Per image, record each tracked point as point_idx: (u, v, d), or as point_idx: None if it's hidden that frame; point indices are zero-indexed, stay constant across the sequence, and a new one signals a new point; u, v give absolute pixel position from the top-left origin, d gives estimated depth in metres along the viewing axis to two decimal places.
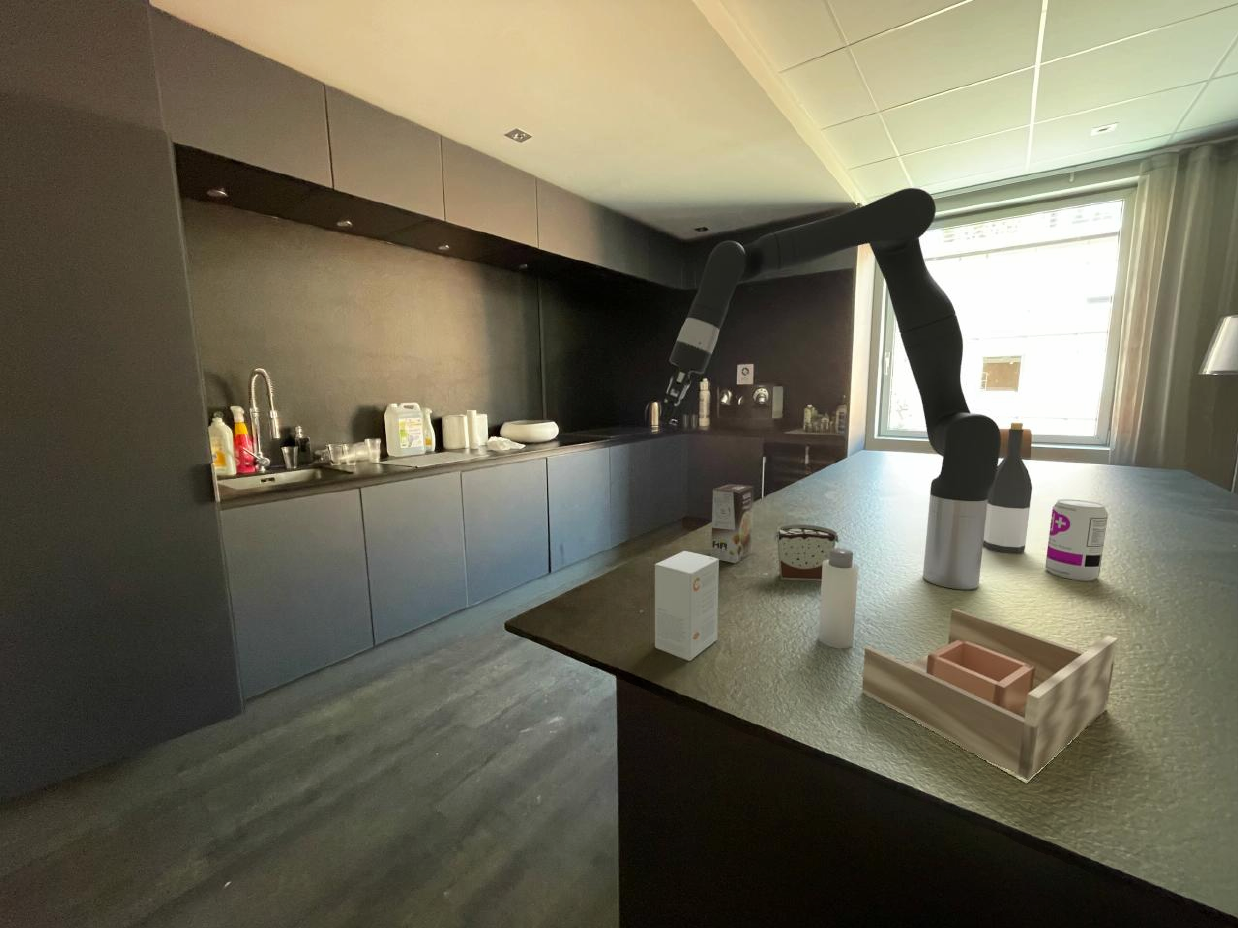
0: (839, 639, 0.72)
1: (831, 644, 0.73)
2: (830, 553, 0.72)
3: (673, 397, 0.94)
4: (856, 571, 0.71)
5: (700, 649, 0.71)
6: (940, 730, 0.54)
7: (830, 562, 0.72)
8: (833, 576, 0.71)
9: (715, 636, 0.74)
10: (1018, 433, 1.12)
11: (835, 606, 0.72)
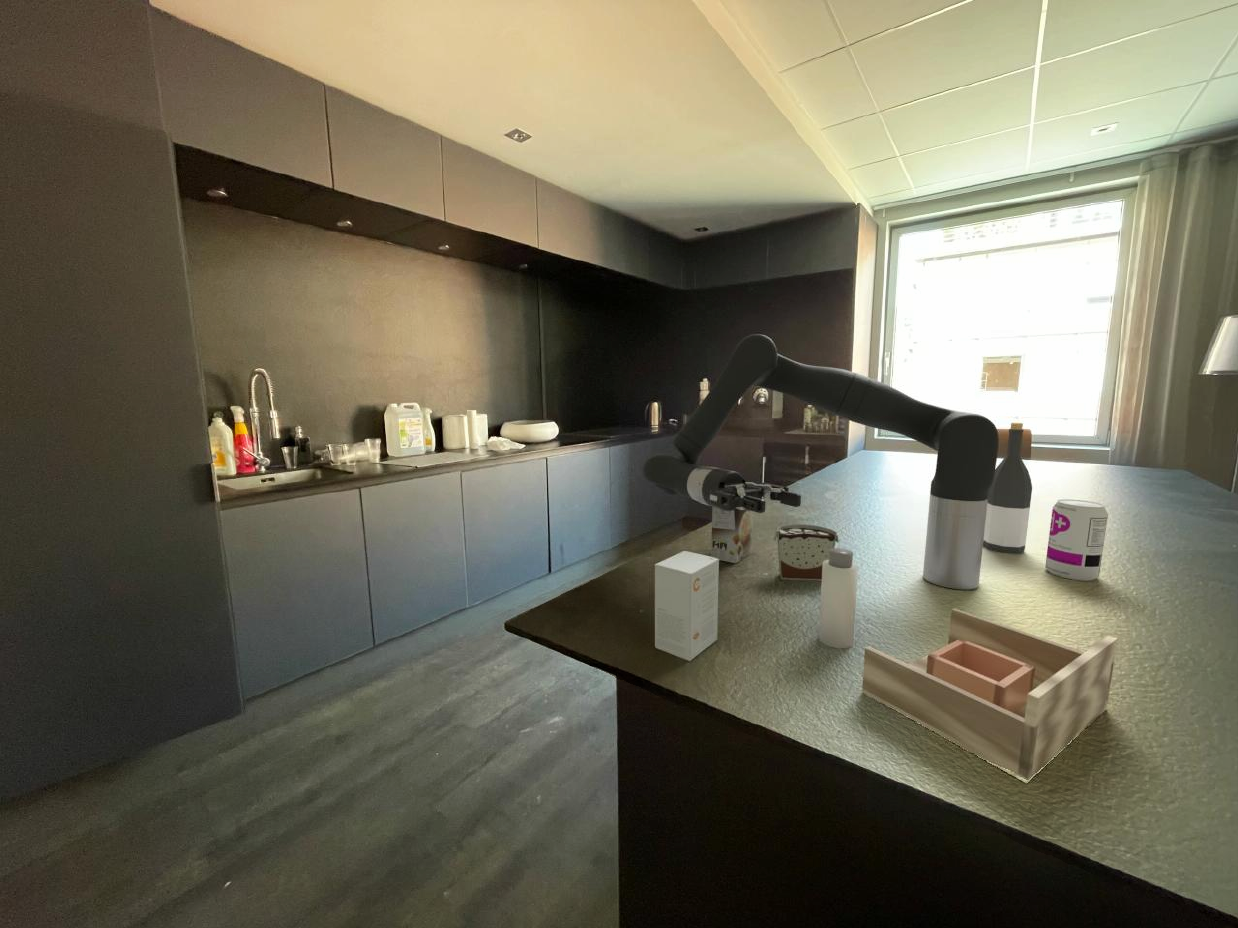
0: (839, 639, 0.72)
1: (831, 644, 0.73)
2: (830, 553, 0.72)
3: (727, 501, 0.82)
4: (856, 571, 0.71)
5: (700, 649, 0.71)
6: (940, 730, 0.54)
7: (830, 562, 0.72)
8: (833, 576, 0.71)
9: (715, 636, 0.74)
10: (1018, 433, 1.12)
11: (835, 606, 0.72)
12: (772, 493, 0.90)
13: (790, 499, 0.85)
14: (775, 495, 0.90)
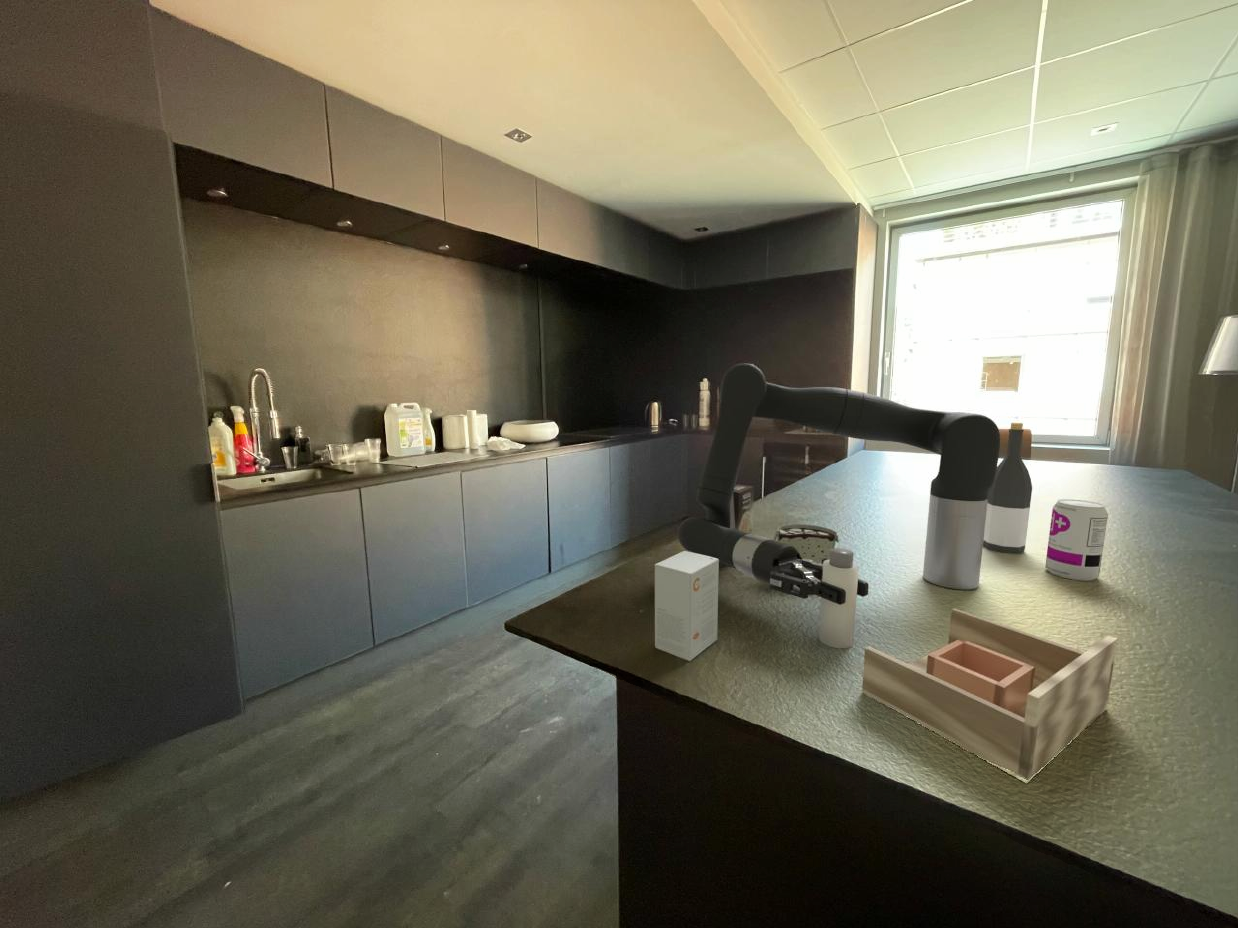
0: (840, 639, 0.72)
1: (831, 644, 0.73)
2: (831, 553, 0.72)
3: (800, 588, 0.73)
4: (857, 571, 0.71)
5: (700, 649, 0.71)
6: (940, 730, 0.54)
7: (831, 562, 0.72)
8: (834, 576, 0.71)
9: (715, 636, 0.74)
10: (1018, 433, 1.12)
11: (835, 606, 0.72)
12: None
13: None
14: None
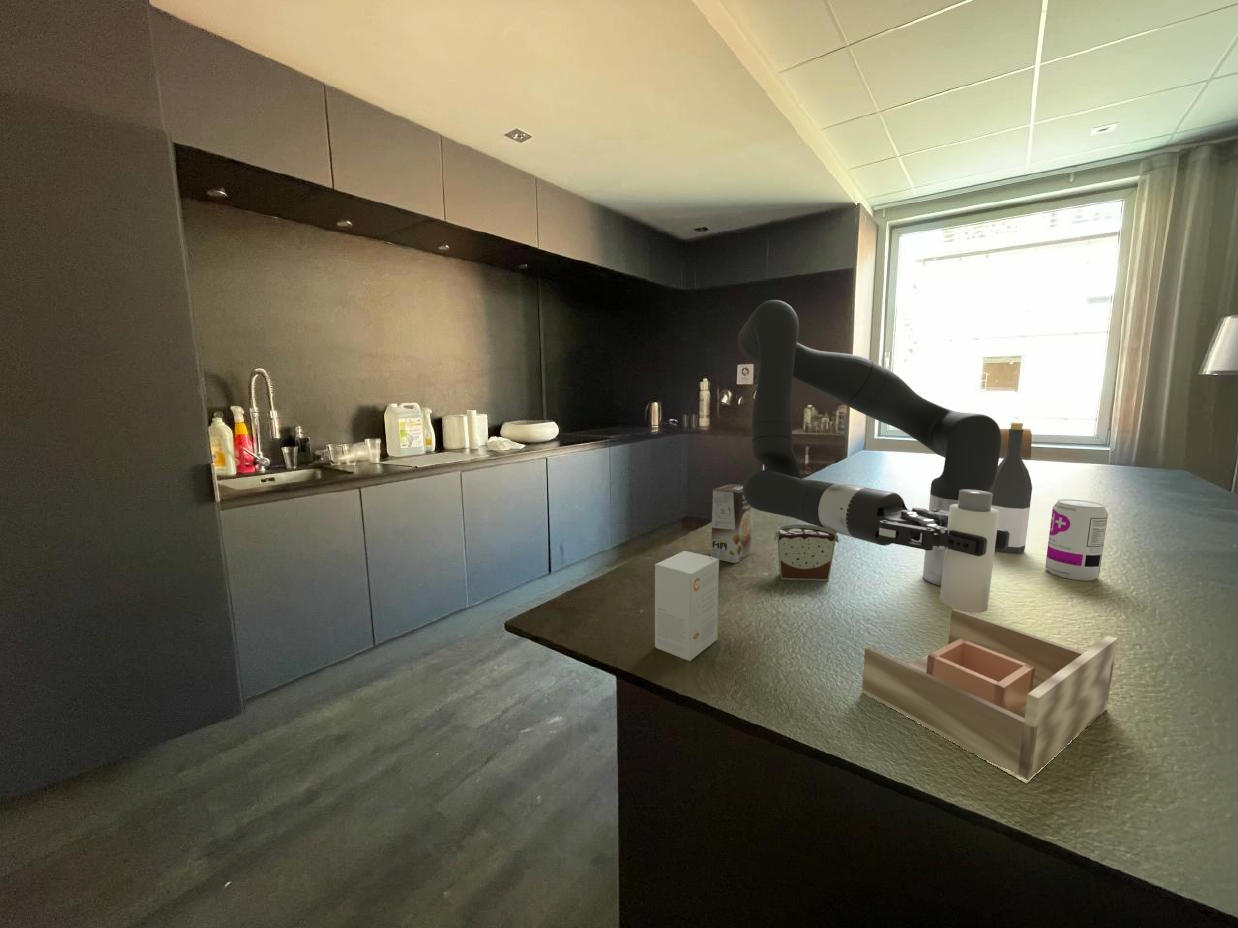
0: (974, 601, 0.58)
1: (962, 607, 0.58)
2: (962, 494, 0.58)
3: (922, 537, 0.59)
4: (998, 515, 0.57)
5: (700, 649, 0.71)
6: (940, 730, 0.54)
7: (962, 505, 0.58)
8: (969, 521, 0.57)
9: (715, 636, 0.74)
10: (1018, 433, 1.12)
11: (969, 559, 0.57)
12: None
13: None
14: None
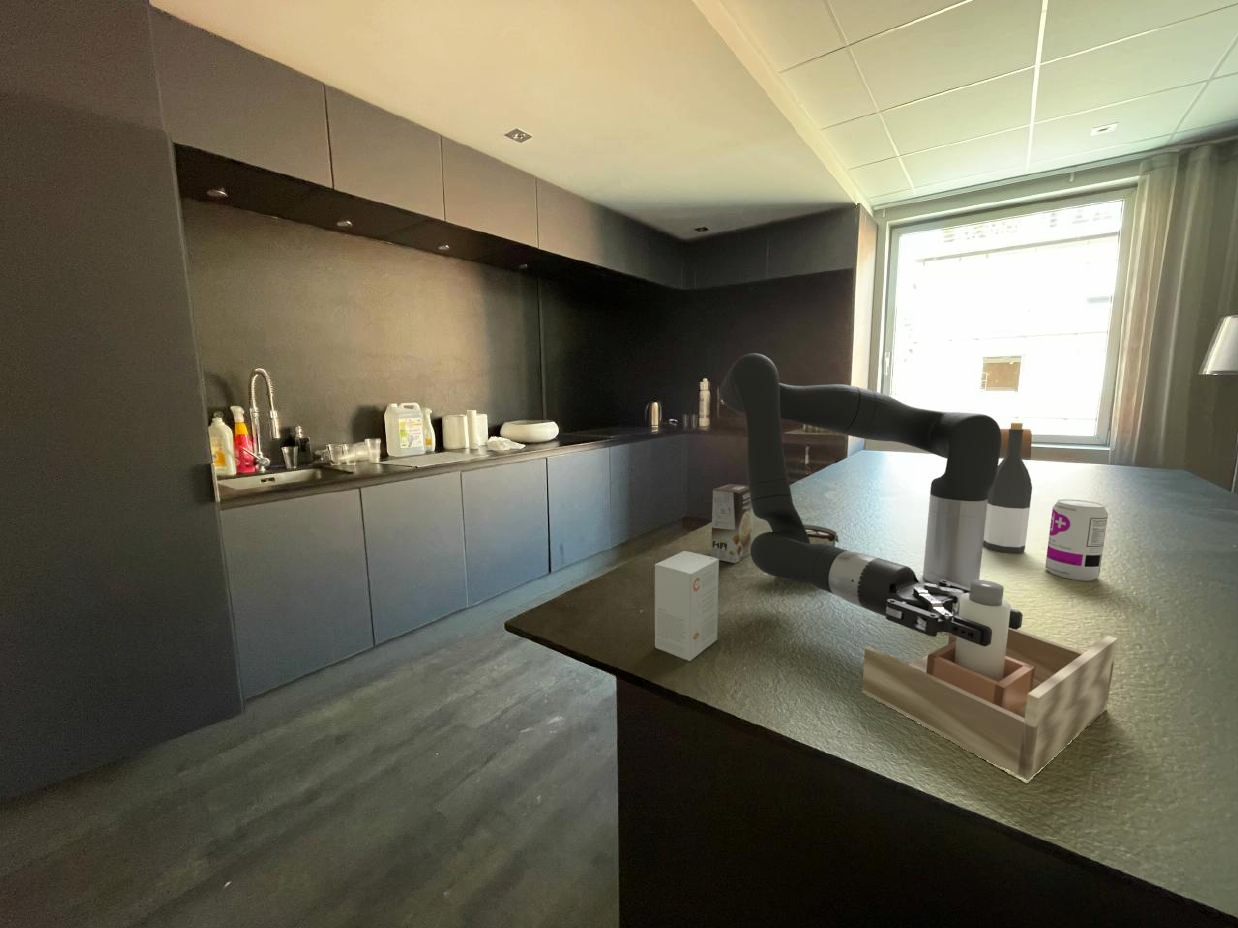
0: None
1: None
2: (973, 587, 0.58)
3: (927, 623, 0.58)
4: (1009, 610, 0.57)
5: (700, 649, 0.71)
6: (940, 730, 0.54)
7: (973, 598, 0.58)
8: (981, 616, 0.57)
9: (715, 636, 0.74)
10: (1018, 433, 1.12)
11: (982, 653, 0.57)
12: None
13: None
14: None
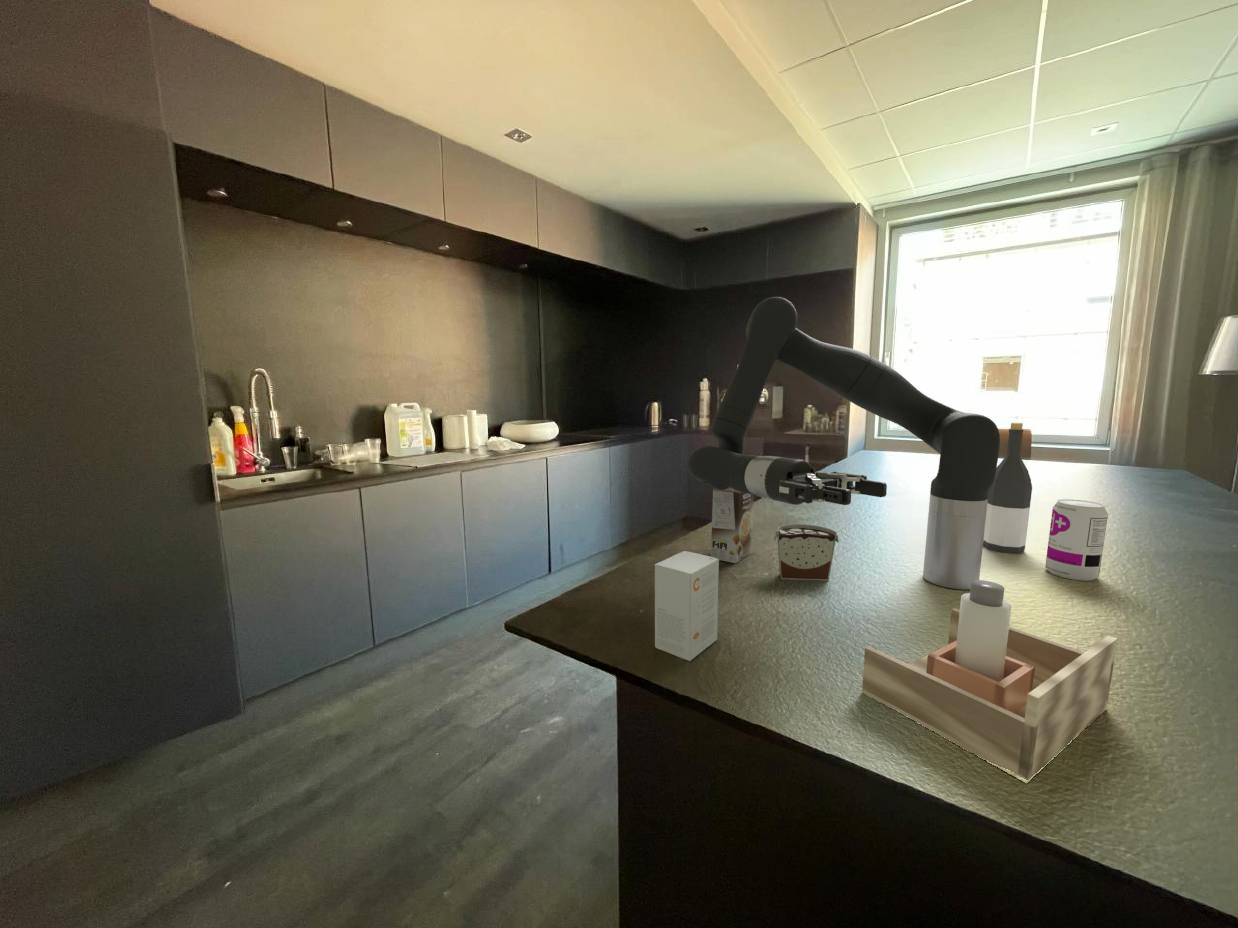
0: None
1: None
2: (974, 587, 0.58)
3: (804, 493, 0.71)
4: (1010, 610, 0.57)
5: (700, 649, 0.71)
6: (940, 730, 0.54)
7: (974, 598, 0.58)
8: (981, 617, 0.57)
9: (715, 636, 0.74)
10: (1018, 433, 1.12)
11: (982, 654, 0.57)
12: (846, 483, 0.79)
13: (873, 489, 0.74)
14: (850, 485, 0.79)
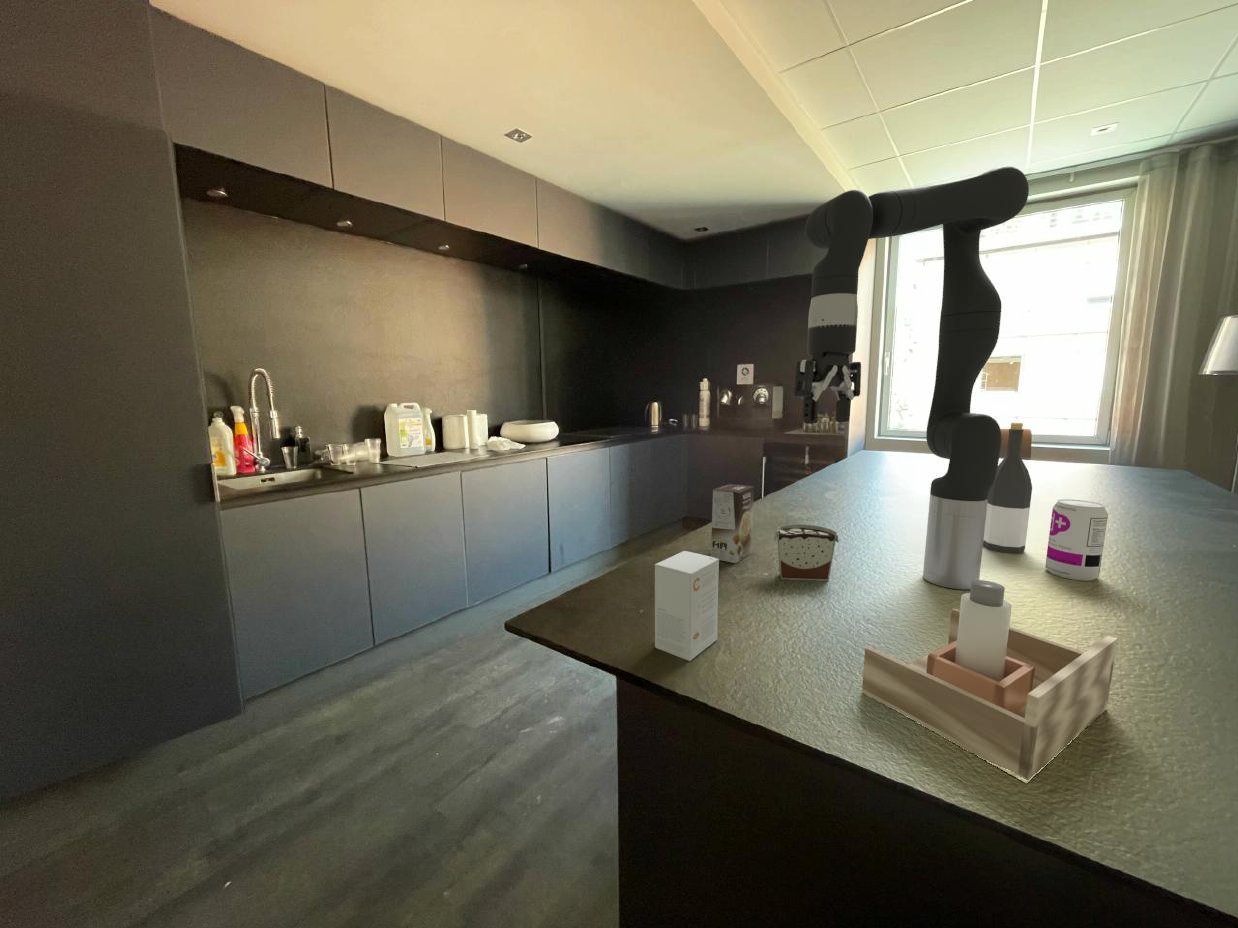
0: None
1: None
2: (974, 587, 0.58)
3: (801, 391, 0.80)
4: (1010, 610, 0.57)
5: (700, 649, 0.71)
6: (940, 730, 0.54)
7: (974, 598, 0.58)
8: (981, 616, 0.57)
9: (715, 636, 0.74)
10: (1018, 433, 1.12)
11: (982, 654, 0.57)
12: None
13: (841, 412, 0.86)
14: None
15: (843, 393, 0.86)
